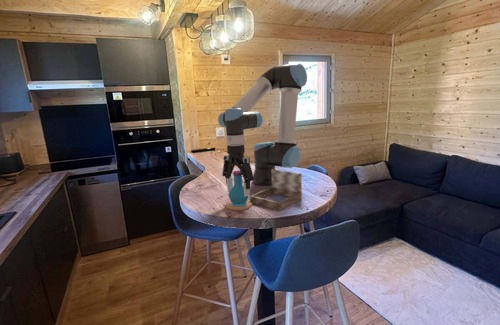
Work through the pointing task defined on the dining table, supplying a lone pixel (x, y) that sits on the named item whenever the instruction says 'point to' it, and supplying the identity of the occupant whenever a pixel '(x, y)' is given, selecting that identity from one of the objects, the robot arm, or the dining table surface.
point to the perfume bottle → (237, 191)
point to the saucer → (231, 207)
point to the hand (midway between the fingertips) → (238, 193)
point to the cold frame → (281, 190)
